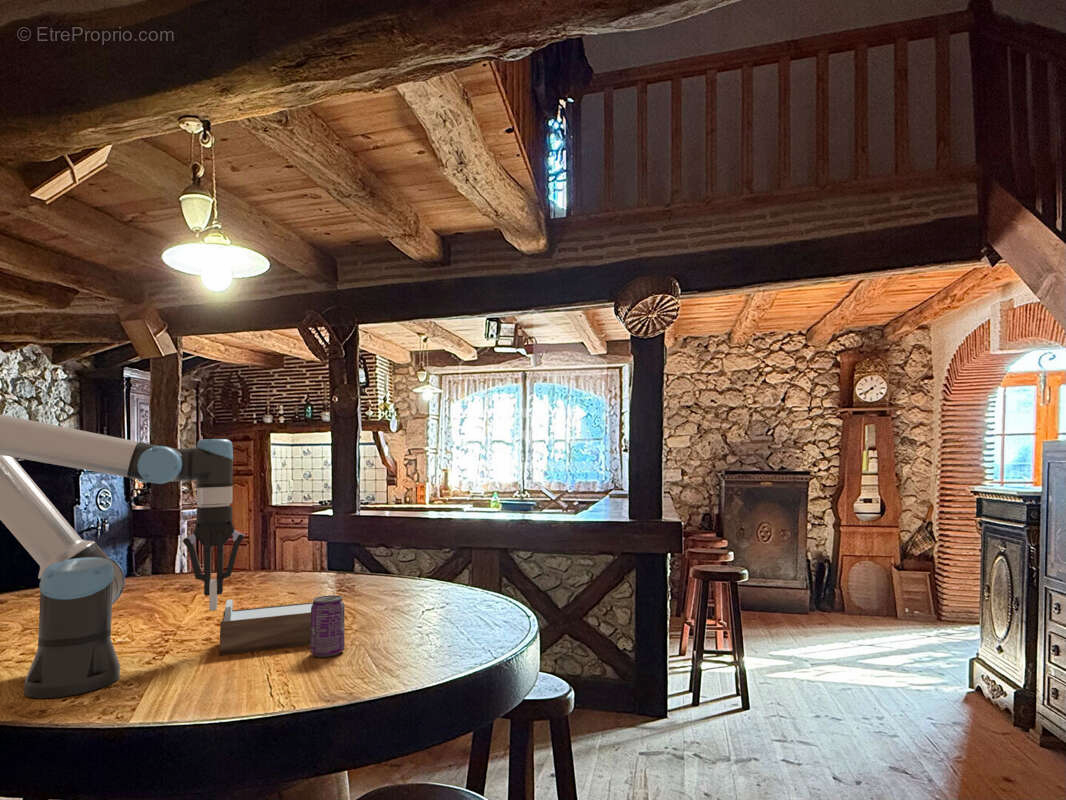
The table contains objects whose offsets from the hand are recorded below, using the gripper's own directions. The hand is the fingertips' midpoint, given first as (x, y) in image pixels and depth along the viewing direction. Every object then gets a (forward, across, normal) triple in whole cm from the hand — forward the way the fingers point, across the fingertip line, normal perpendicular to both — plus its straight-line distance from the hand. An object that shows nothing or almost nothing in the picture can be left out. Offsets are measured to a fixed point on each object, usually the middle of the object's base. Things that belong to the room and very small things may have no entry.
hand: (213, 609), depth 149 cm
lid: (+3, -13, 0) cm, 13 cm away
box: (+9, -13, 0) cm, 16 cm away
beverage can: (+9, -24, +16) cm, 30 cm away
